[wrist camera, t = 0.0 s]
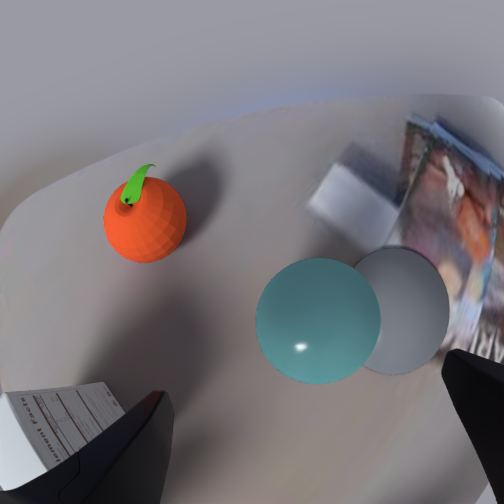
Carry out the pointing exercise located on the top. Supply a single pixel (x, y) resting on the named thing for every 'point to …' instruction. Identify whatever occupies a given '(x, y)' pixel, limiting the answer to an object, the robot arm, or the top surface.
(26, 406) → the supplement box
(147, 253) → the clementine
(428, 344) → the coaster
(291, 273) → the cylinder
